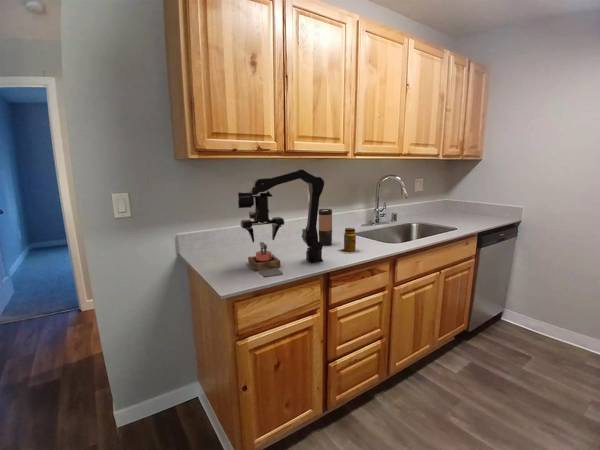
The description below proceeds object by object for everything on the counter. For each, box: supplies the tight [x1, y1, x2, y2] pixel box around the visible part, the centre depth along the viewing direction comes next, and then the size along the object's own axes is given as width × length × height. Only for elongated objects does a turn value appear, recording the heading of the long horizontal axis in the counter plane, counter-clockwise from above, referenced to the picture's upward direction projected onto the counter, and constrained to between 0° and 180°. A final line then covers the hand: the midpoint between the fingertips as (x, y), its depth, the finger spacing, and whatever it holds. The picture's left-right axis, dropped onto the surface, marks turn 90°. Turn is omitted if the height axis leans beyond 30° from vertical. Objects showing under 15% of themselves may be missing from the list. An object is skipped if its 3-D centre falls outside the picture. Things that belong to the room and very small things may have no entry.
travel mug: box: [318, 208, 333, 247], centre depth 176 cm, size 8×8×20 cm
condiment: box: [338, 227, 359, 254], centre depth 163 cm, size 7×8×12 cm
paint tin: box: [255, 241, 272, 263], centre depth 142 cm, size 7×7×10 cm
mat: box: [258, 268, 284, 278], centre depth 133 cm, size 8×8×1 cm
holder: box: [247, 253, 282, 272], centre depth 143 cm, size 12×12×3 cm
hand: (263, 241), depth 141 cm, fingers open, 9 cm apart
